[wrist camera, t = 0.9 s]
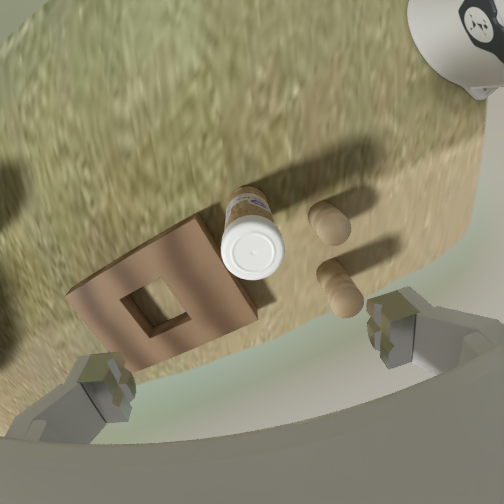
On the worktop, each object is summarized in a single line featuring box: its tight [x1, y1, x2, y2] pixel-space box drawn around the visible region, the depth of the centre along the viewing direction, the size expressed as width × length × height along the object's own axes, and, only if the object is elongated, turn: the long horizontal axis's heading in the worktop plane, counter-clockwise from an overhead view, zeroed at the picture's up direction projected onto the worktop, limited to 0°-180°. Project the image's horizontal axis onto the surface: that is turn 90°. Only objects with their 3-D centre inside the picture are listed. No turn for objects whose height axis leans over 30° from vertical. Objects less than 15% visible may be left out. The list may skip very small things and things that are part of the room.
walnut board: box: [65, 212, 258, 373], centre depth 38 cm, size 20×14×2 cm
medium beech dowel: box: [316, 260, 364, 318], centre depth 35 cm, size 3×3×8 cm
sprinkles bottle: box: [221, 186, 285, 280], centre depth 29 cm, size 5×5×13 cm
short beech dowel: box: [308, 201, 351, 246], centre depth 34 cm, size 3×3×5 cm
